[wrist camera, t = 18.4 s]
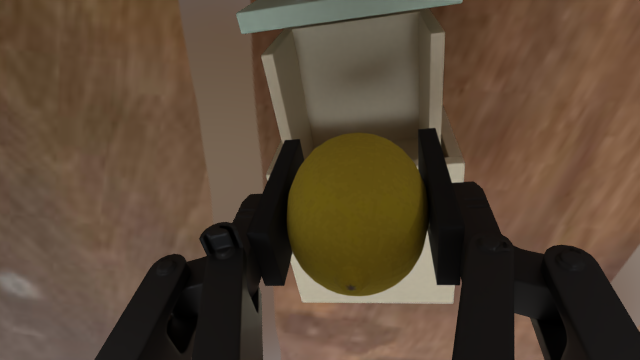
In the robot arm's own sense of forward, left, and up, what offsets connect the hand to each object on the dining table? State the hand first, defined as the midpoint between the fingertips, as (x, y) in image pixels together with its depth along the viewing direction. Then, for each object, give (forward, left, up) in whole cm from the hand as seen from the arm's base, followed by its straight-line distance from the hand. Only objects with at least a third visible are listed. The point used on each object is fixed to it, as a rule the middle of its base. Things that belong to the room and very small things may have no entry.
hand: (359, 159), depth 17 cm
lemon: (0, 0, -1) cm, 1 cm away
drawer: (-3, -1, -15) cm, 15 cm away
